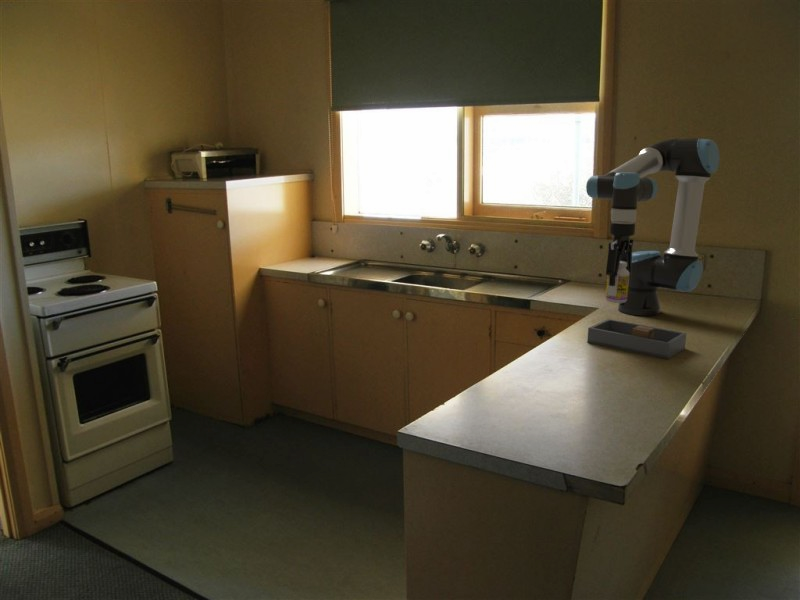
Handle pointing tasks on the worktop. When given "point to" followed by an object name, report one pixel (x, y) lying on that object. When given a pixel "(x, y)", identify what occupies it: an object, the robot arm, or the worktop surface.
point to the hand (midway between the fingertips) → (616, 293)
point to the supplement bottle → (620, 285)
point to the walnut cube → (643, 332)
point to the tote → (636, 339)
